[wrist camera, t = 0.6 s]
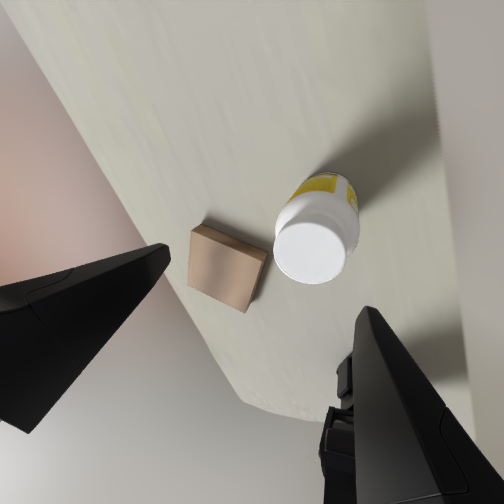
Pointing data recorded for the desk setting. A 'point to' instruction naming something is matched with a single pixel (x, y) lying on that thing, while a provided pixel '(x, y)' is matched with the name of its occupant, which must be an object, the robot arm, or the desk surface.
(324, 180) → the supplement bottle
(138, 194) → the desk surface
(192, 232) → the base plate
